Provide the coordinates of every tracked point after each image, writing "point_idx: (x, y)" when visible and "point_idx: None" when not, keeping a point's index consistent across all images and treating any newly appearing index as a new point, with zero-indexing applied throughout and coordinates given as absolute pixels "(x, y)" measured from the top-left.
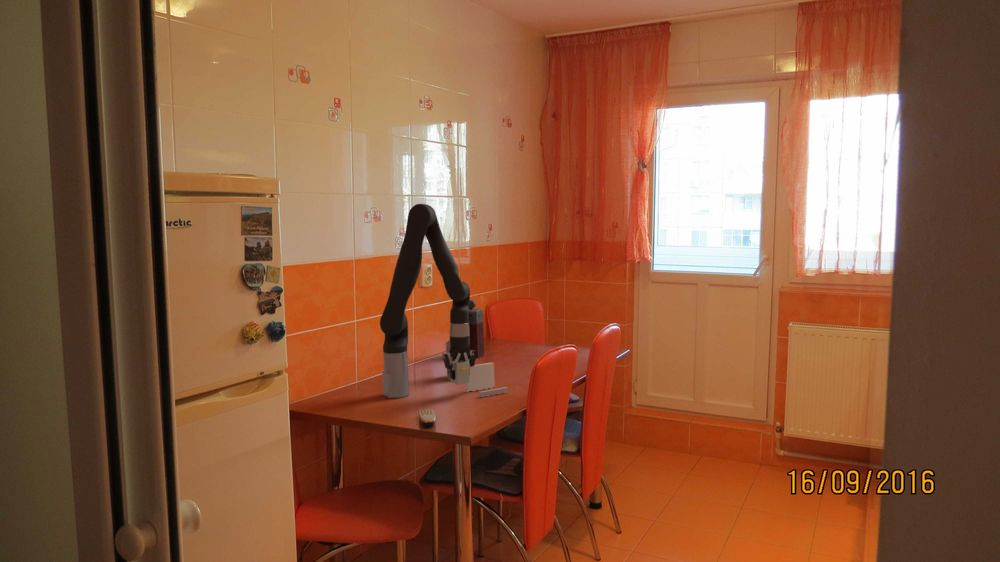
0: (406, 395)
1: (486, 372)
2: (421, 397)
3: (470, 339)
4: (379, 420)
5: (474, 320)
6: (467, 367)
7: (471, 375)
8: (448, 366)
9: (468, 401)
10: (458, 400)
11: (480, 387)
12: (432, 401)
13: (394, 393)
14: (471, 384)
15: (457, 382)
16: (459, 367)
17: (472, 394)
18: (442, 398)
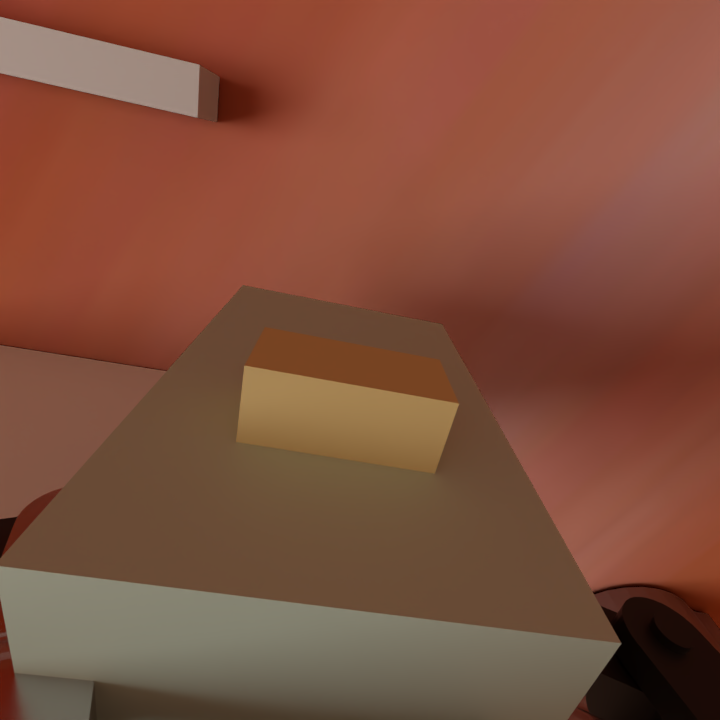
0: (613, 593)
1: None
2: (573, 511)
3: None
4: None
5: None
6: (188, 437)
7: (57, 481)
8: (717, 675)
9: (435, 53)
10: (472, 196)
11: (33, 365)
12: (633, 362)
13: (708, 632)
14: (125, 409)
15: (446, 342)
16: (482, 500)
17: (210, 282)
18: (506, 378)
